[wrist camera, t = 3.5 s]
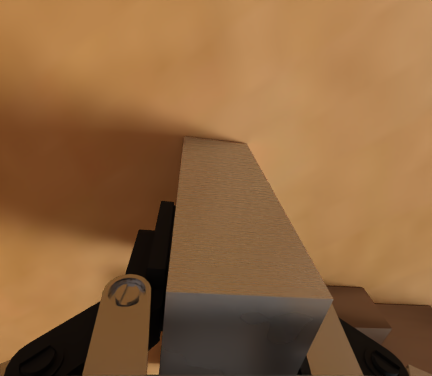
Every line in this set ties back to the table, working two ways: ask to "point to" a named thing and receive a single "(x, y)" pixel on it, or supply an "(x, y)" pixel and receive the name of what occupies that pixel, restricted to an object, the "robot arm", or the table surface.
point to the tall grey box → (236, 272)
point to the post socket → (388, 324)
